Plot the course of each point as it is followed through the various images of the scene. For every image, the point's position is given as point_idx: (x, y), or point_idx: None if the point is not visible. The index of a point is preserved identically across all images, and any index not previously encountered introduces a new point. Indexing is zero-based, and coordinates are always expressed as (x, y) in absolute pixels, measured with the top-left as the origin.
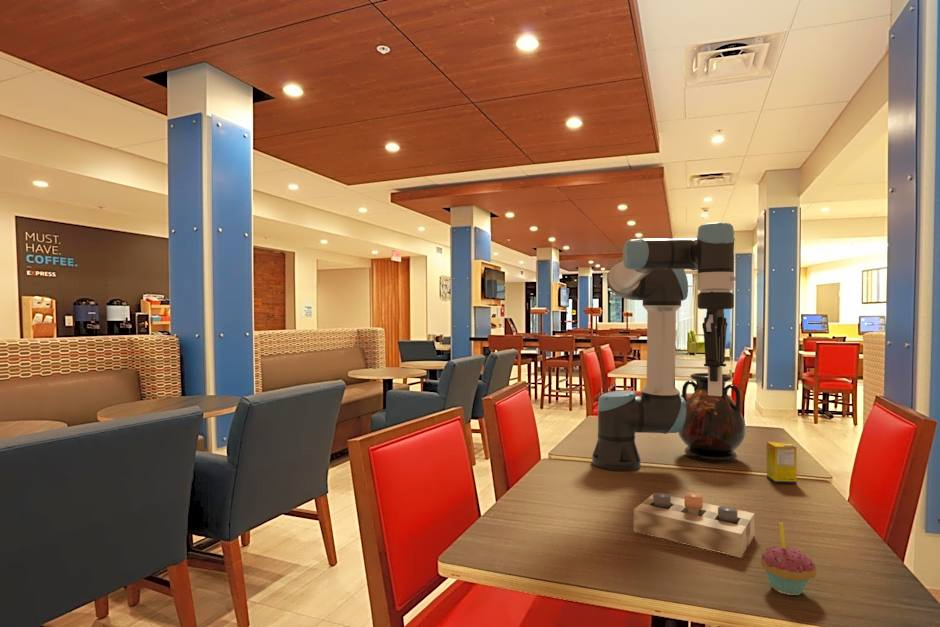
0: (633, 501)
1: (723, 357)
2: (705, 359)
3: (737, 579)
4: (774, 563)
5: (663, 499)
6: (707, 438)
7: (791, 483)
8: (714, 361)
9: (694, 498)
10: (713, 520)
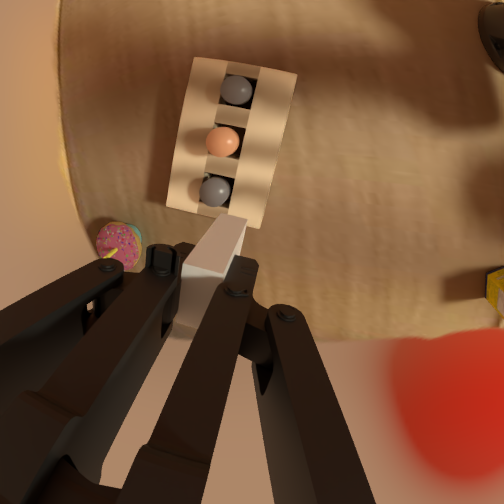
0: (340, 47)
1: (255, 378)
2: (81, 268)
3: (126, 193)
4: (98, 235)
5: (221, 94)
6: None
7: (485, 292)
8: (93, 308)
9: (206, 144)
10: (199, 170)
